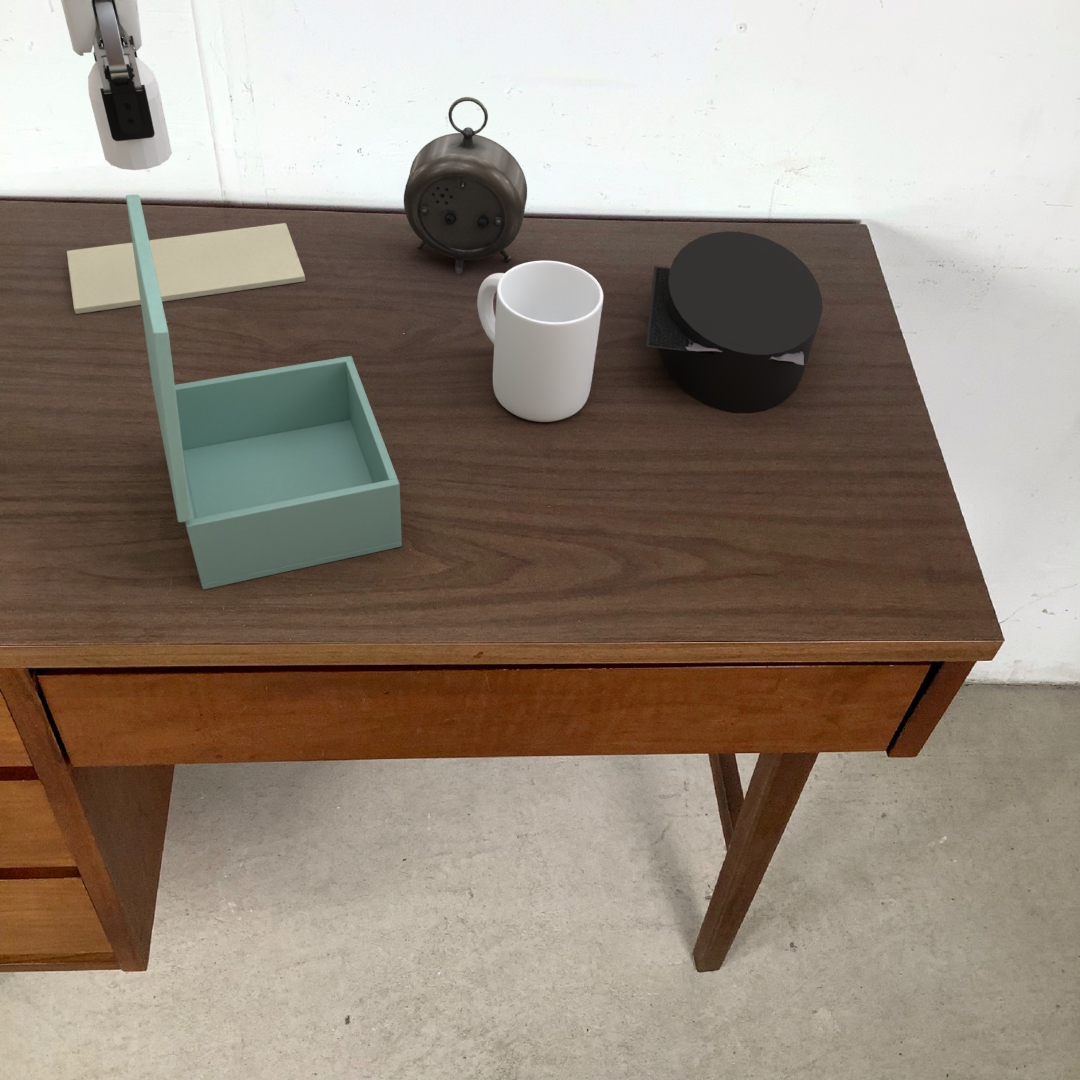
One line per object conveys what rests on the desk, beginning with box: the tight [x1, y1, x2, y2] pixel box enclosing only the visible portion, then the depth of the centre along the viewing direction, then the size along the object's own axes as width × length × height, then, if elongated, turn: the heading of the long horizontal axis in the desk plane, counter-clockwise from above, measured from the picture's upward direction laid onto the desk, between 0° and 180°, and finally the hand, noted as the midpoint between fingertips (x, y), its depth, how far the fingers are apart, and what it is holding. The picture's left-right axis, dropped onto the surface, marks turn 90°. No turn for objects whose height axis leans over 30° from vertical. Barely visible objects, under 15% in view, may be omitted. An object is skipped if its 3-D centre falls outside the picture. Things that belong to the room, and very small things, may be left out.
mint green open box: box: [175, 355, 403, 590], centre depth 78 cm, size 14×14×7 cm
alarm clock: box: [403, 96, 528, 275], centre depth 96 cm, size 11×5×16 cm, turn 84°
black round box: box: [645, 230, 823, 414], centre depth 94 cm, size 14×18×8 cm
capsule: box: [87, 55, 173, 171], centre depth 85 cm, size 5×5×8 cm
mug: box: [476, 260, 604, 423], centre depth 87 cm, size 12×8×10 cm
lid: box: [125, 194, 191, 523], centre depth 67 cm, size 15×14×1 cm
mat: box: [66, 222, 306, 315], centre depth 98 cm, size 20×9×1 cm, turn 110°
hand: (129, 116), depth 85 cm, fingers closed on capsule, 5 cm apart
